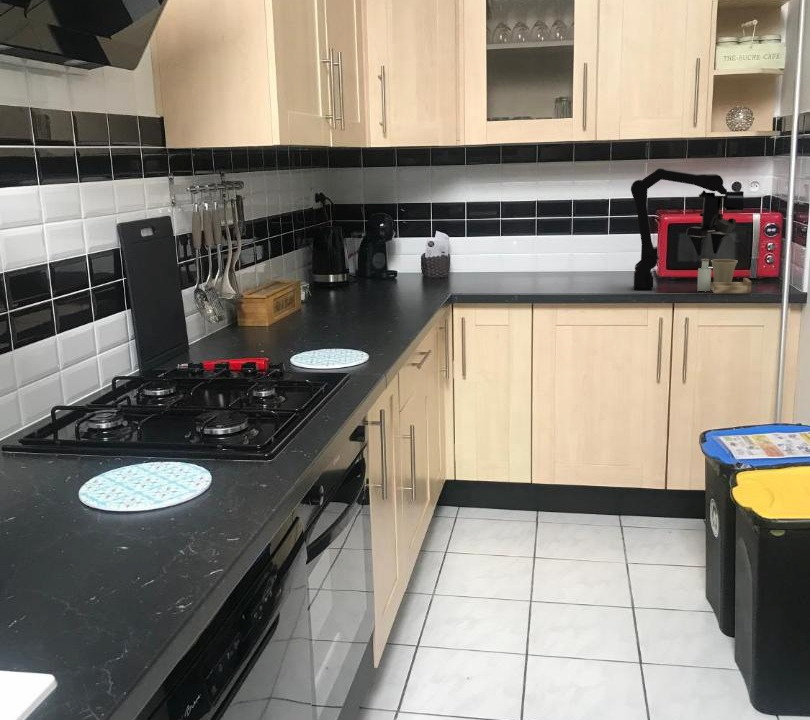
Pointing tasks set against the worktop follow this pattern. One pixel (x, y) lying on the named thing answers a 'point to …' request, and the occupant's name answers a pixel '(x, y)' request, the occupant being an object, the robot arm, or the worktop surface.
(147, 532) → the worktop surface
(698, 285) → the bottle
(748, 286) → the cradle
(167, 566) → the worktop surface
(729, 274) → the flower pot
